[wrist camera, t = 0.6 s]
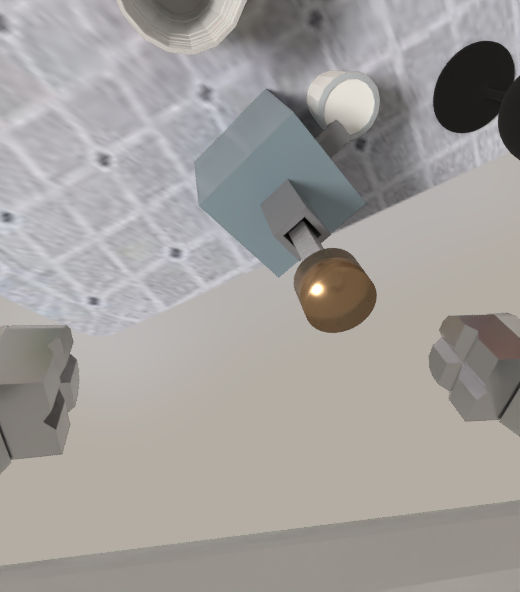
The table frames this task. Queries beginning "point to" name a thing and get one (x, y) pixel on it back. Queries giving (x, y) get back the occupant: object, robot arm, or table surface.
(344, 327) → the pump plunger
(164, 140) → the table surface
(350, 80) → the shot glass
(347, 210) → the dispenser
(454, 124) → the wine glass
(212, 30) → the plastic cup
